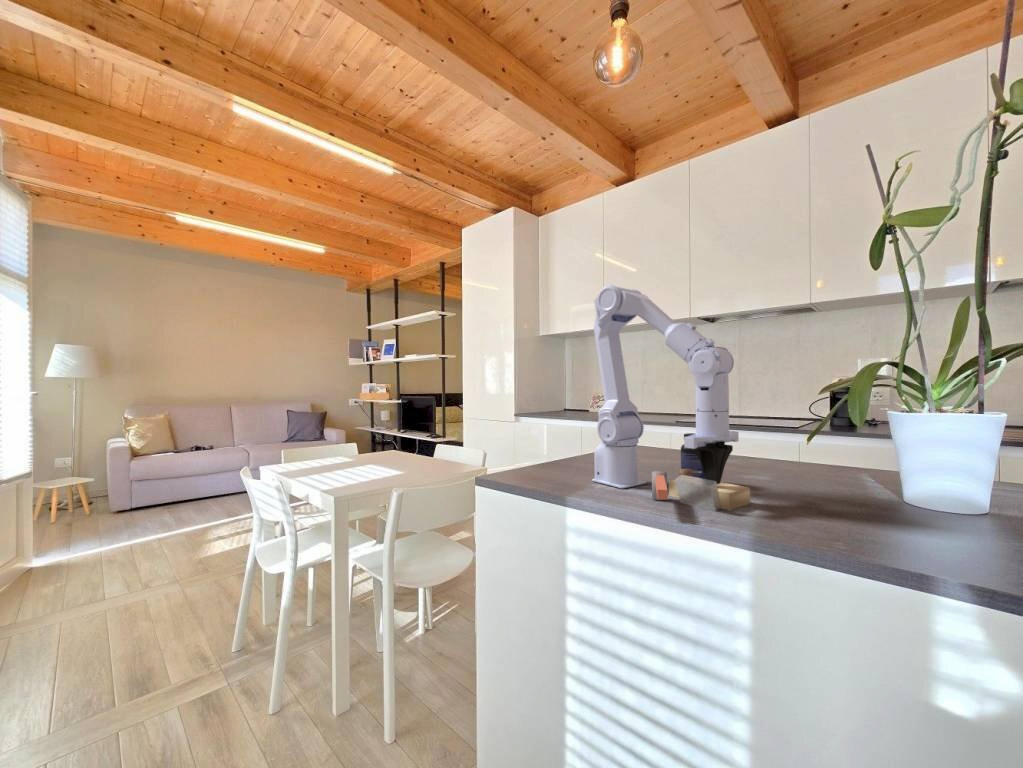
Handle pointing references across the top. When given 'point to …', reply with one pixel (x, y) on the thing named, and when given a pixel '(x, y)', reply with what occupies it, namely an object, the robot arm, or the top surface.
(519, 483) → the top surface
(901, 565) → the top surface
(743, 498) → the body
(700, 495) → the grey slanted block
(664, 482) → the hammer
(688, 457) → the pill bottle
